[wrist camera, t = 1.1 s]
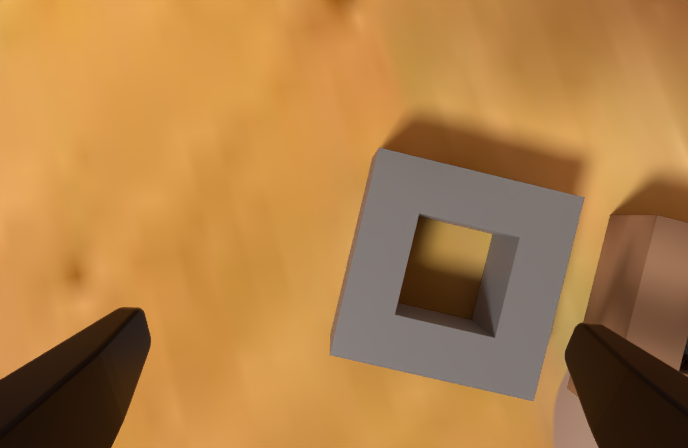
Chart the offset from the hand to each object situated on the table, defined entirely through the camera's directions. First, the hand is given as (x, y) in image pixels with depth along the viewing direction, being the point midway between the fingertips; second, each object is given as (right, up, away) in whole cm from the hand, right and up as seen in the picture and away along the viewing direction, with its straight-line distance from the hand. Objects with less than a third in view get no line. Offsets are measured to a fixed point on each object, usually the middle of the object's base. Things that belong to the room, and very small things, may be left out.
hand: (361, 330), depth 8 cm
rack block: (+5, 0, +16) cm, 17 cm away
